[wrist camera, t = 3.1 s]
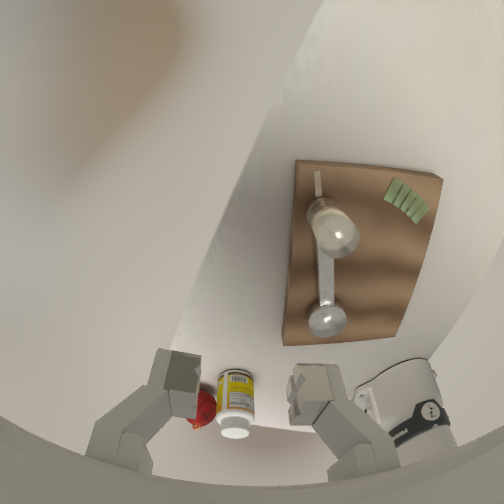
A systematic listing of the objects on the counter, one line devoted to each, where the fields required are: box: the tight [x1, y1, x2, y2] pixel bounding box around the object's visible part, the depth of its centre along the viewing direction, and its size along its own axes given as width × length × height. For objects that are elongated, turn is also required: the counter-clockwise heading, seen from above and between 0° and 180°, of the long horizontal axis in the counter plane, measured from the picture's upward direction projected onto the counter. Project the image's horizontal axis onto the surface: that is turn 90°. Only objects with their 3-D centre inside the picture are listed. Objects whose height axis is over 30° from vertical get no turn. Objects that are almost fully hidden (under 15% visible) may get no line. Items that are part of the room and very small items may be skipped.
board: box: [282, 160, 443, 346], centre depth 31 cm, size 23×16×2 cm
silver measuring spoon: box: [307, 198, 360, 338], centre depth 27 cm, size 17×4×6 cm, turn 10°
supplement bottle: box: [216, 370, 255, 438], centre depth 38 cm, size 6×6×10 cm
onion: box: [186, 389, 217, 430], centre depth 41 cm, size 6×6×8 cm
